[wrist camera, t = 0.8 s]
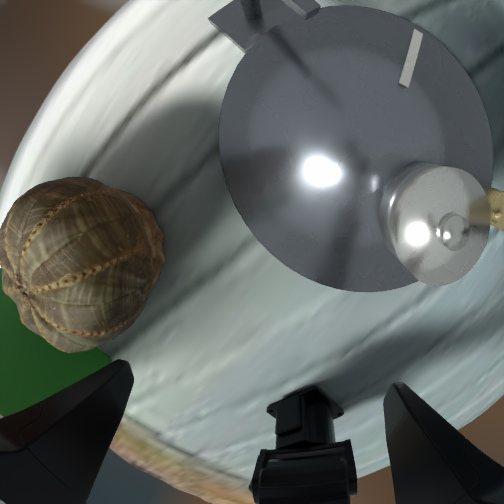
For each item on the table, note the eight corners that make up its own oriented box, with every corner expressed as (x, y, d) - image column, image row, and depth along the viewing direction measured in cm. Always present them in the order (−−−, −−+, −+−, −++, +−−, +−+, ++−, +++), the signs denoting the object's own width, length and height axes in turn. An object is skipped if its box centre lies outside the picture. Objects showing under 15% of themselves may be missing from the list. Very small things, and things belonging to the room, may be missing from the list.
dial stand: (327, 45, 15) (359, -22, 6) (273, 82, 16) (267, 26, 8) (262, -11, 13) (249, -88, 5) (211, 23, 15) (164, -44, 6)
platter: (511, 188, 15) (551, 203, 10) (338, 329, 21) (349, 374, 16) (377, -20, 11) (397, -53, 6) (163, 125, 17) (124, 119, 12)
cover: (473, 225, 16) (507, 245, 12) (406, 281, 18) (431, 313, 14) (434, 143, 14) (472, 145, 10) (358, 202, 16) (381, 219, 12)
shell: (207, 207, 20) (123, 279, 9) (154, 310, 24) (89, 407, 13) (98, 144, 19) (-22, 161, 8) (66, 250, 23) (-21, 309, 12)
